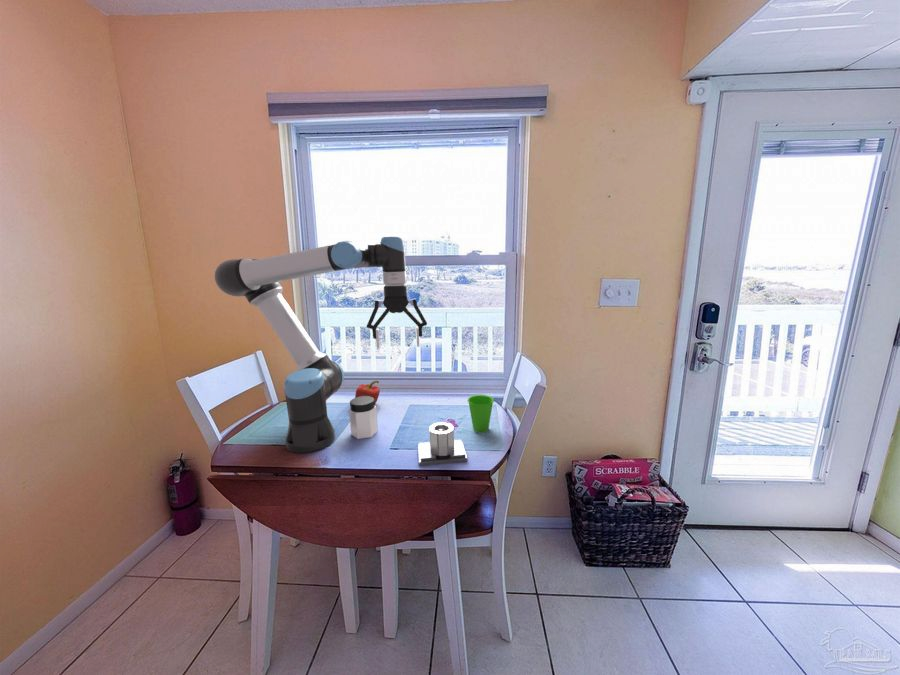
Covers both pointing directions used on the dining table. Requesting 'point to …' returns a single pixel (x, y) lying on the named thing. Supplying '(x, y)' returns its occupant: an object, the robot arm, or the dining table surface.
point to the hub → (441, 439)
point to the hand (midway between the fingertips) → (398, 346)
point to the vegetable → (368, 391)
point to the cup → (480, 411)
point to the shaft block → (432, 459)
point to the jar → (363, 417)
